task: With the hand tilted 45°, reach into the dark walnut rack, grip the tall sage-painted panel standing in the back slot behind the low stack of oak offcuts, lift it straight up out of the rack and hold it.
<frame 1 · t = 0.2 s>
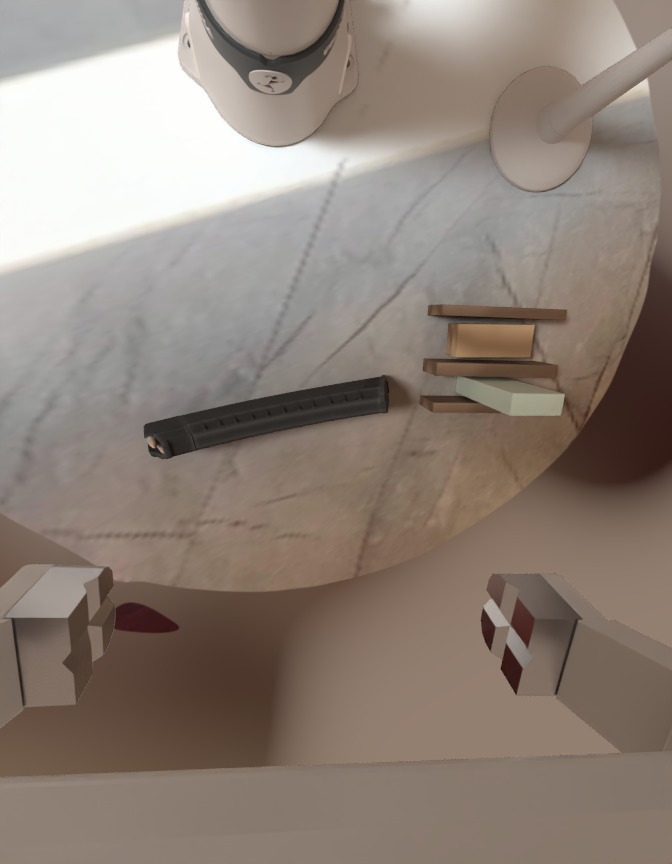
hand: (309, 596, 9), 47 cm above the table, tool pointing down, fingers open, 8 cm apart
candlestick: (538, 133, 51), on the table
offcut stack: (482, 338, 57), on the table
magazine: (272, 407, 56), on the table
tall panel: (477, 383, 59), on the table
walnut rack: (480, 358, 58), on the table
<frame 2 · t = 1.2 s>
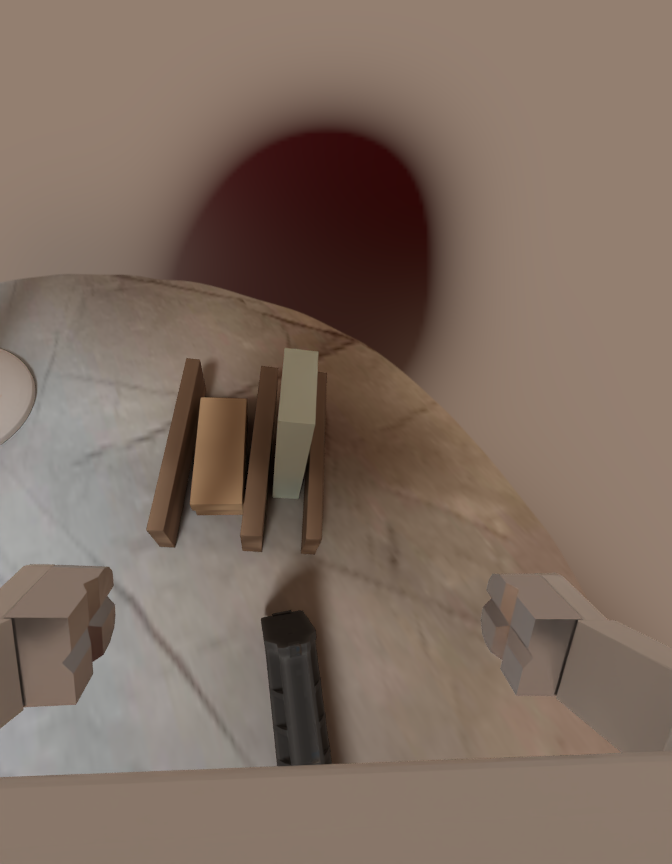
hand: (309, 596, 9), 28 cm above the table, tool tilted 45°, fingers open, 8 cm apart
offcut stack: (224, 464, 40), on the table
magazine: (311, 863, 28), on the table
tall panel: (287, 468, 41), on the table
walnut rack: (250, 465, 40), on the table
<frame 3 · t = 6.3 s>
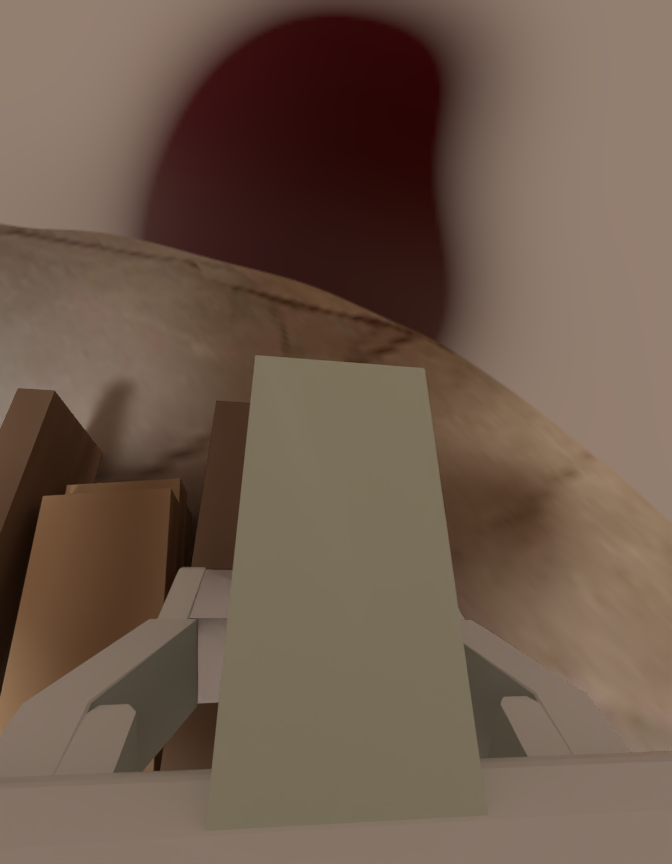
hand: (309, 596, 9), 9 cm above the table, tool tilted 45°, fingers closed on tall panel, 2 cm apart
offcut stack: (132, 647, 16), on the table
tall panel: (291, 648, 17), on the table, touching gripper
walnut rack: (198, 649, 16), on the table
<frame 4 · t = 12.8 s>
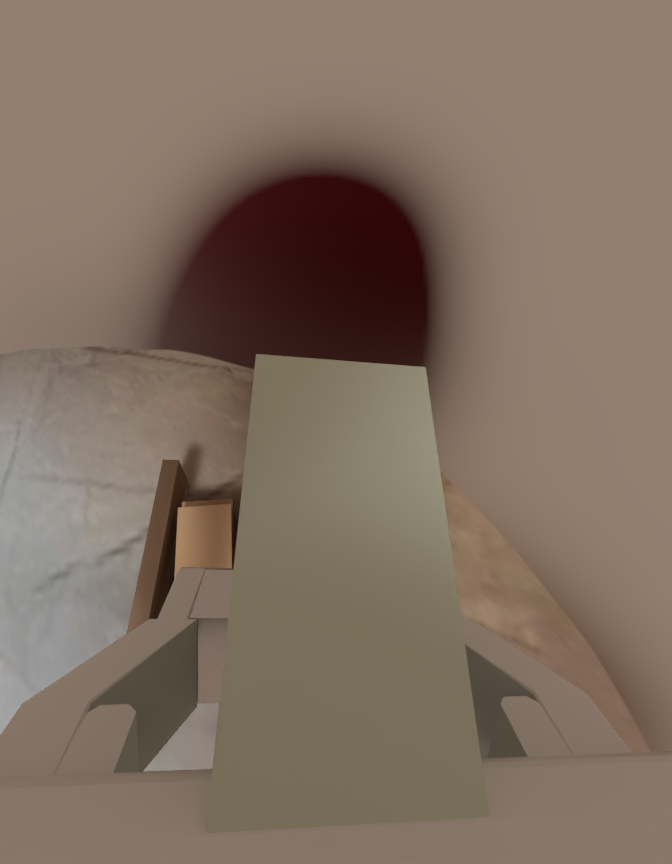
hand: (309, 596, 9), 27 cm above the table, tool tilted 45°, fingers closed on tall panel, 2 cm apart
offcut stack: (210, 576, 35), on the table
tall panel: (290, 648, 17), point 18 cm above the table, touching gripper
walnut rack: (241, 577, 35), on the table
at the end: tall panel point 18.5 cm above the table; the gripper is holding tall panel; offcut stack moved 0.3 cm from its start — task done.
